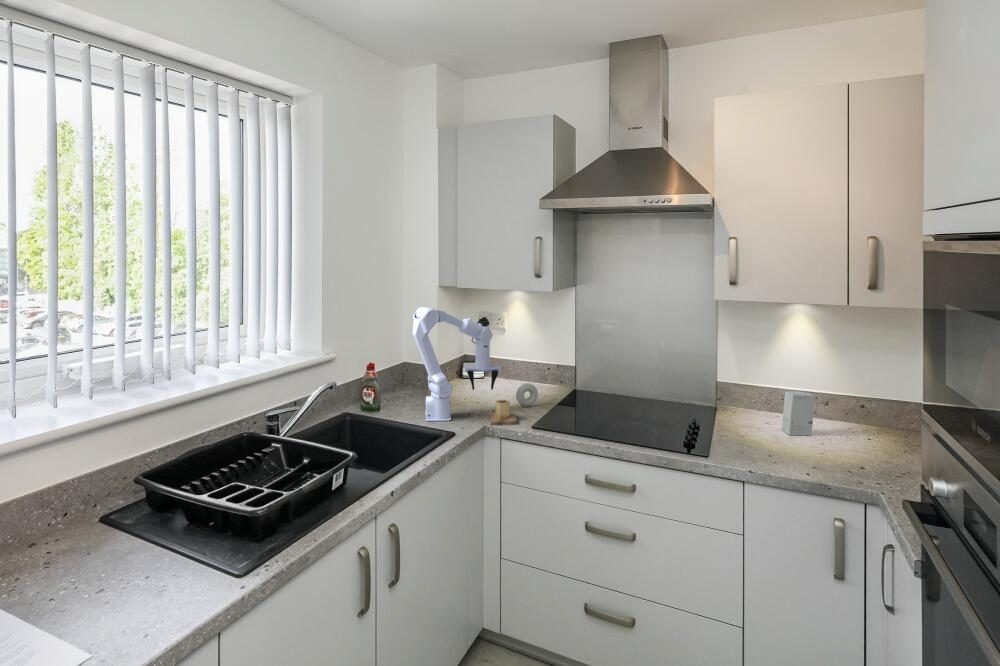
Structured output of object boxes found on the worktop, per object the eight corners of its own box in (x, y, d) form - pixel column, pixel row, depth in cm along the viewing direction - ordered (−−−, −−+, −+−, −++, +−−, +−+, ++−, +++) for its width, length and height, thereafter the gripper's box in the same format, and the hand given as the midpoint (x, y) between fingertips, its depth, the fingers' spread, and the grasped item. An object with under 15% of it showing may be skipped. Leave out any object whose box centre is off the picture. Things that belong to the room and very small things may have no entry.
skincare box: (789, 435, 198) (792, 394, 196) (780, 430, 204) (783, 390, 202) (812, 435, 198) (816, 395, 196) (803, 430, 204) (807, 390, 202)
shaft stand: (490, 425, 210) (490, 410, 209) (488, 415, 222) (488, 401, 222) (517, 424, 211) (517, 410, 210) (513, 414, 223) (513, 401, 223)
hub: (496, 418, 213) (496, 403, 213) (495, 415, 219) (495, 400, 218) (510, 418, 214) (510, 403, 213) (508, 414, 219) (508, 399, 218)
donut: (535, 404, 239) (535, 381, 237) (539, 406, 236) (539, 383, 234) (514, 406, 235) (514, 383, 233) (517, 408, 232) (518, 385, 230)
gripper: (464, 358, 220) (465, 391, 222) (501, 357, 221) (501, 391, 223) (464, 354, 227) (464, 387, 229) (499, 354, 228) (499, 386, 230)
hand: (482, 389), depth 226 cm, fingers open, 7 cm apart
